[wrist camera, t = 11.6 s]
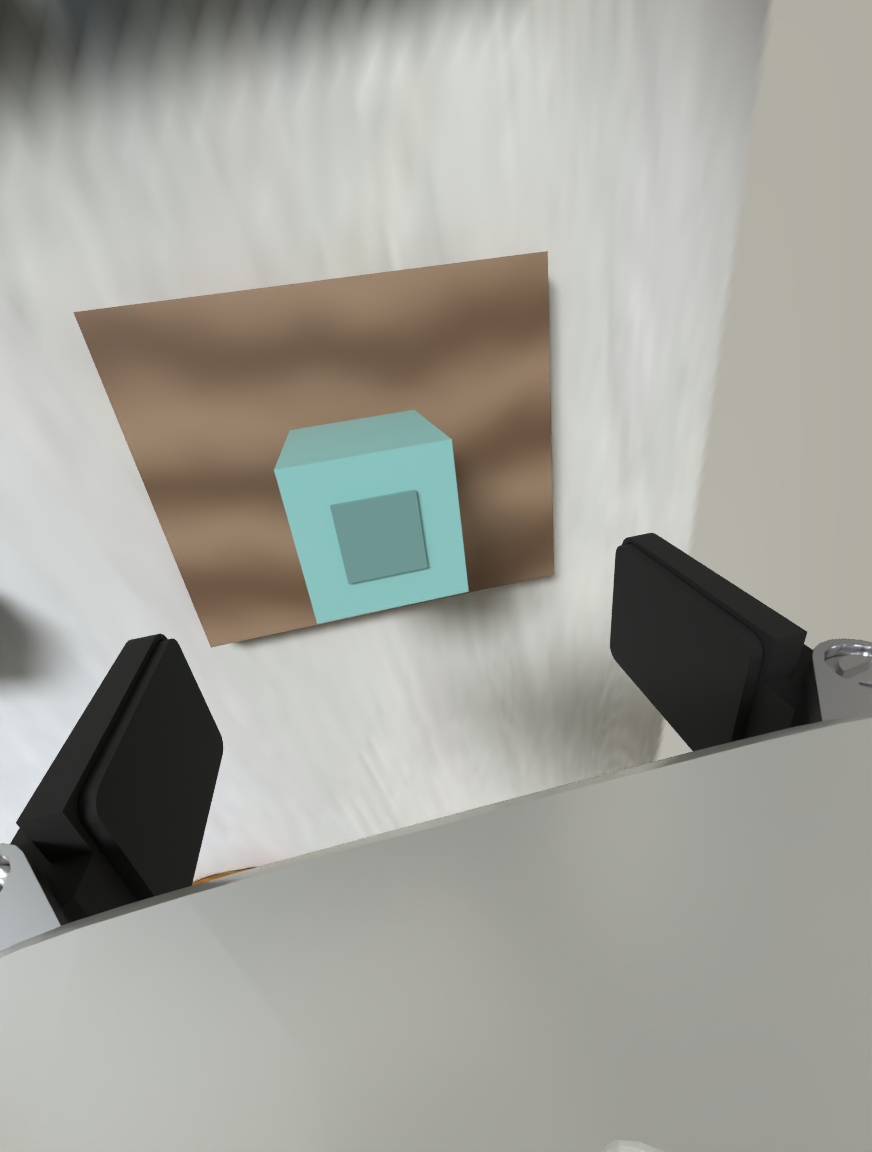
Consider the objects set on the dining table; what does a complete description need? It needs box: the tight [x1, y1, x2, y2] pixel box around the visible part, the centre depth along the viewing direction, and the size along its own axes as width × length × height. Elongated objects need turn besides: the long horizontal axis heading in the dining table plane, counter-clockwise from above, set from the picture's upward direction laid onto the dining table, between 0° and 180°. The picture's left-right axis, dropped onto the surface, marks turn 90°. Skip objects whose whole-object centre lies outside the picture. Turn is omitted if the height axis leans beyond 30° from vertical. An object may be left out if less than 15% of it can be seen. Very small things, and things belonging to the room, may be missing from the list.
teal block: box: [274, 410, 469, 624], centre depth 21 cm, size 6×6×8 cm
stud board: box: [74, 251, 554, 647], centre depth 24 cm, size 18×22×11 cm
